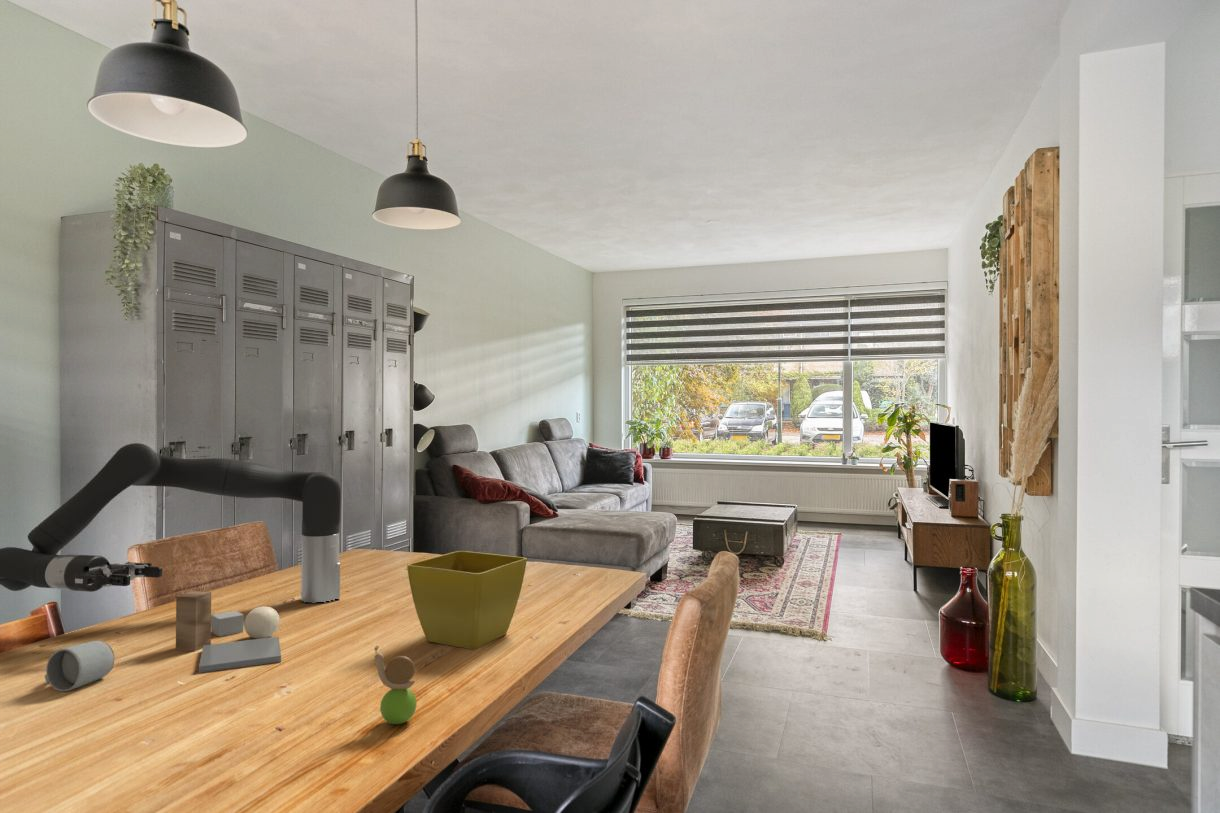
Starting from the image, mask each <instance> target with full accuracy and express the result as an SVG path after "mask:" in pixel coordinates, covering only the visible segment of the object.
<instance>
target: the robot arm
mask: <svg viewBox="0 0 1220 813" xmlns="http://www.w3.org/2000/svg"><path fill="white" fill-rule="evenodd" d="M131 486H134V487H135V486H136V487H137V486H140V487H166V488H167V487H168V488H169V487H170V488H178V489H185V490H189V491H194V492H199V493H204V494H211V495H216V496H225V497H231V498H240V499H241V498H243V499H268V498H270V499H271V498H274V499H275V498H278V499H287V500H291V501H296V502H302V509H301V510H302V513H301V514H302V517H301V518H302V519H301V568H300V569H301V574H300V577H301V578H300V580H301V585H300V586H301V587H300V589H301V590H300V600H302V601H304V602H303V603H305V602H312V603H311V604H317V603H316V602H324V603H327V602H326V601H329V602H332V601H331V600H333V601H336V600H335V599H339V600H340V599H341V562H340V524H341V506H342V504H341V502H342V499H341V498H342V497H341V496H342V495H341V494H342V493H341V491H342V490H341V486H340V483H339V481H338V479H336V478H335V477H334V476H333V475H332V474H330V473H327V472H324V471H321V472H320V471H318V472H316V471H313V472H312V471H295V470H294V471H293V470H284V469H281V468H276V467H272V466H269V465H266V464H265V465H264V464H260V463H256V462H249V461H243V460H238V459H237V460H236V459H231V458H230V459H229V458H222V457H221V458H219V457H218V458H217V457H216V458H215V457H210V458H208V457H207V458H206V457H205V458H204V457H203V458H182V457H181V458H180V457H174V456H171V455H170V456H169V455H164V454H160V453H158V452H157V453H156V452H155V450H153V448H152V447H150V446H149V445H148V444H144V443H138V442H137V443H129V444H125V445H123V446H122V447H120V448H119V449H118V450H117V451H116V452H115V453H114V454H113V455H112V457H111V458H110V459H109V460H108V461H107V462H106V463H105V465H103V467H102V468H101V469H100V470H99V471H98V473H96V475H94V477H93V478H91V479H90V480H89V481H88V482H87V483H86V484H85V485H84V486H83V487H82V488H81V489H80V490H79V491H77V492H76V493H75V494H74V495H73V496H72V497H70V498H69V499H68V500H67V501H66V502H65V503H63V504H62V505H61V506H60V507H59V508H57V509H55V511H53V512H52V513H51V514H50V515H49V516H47V517H46V518H45V519H44V520H43V521H41V522H40V523H39V524H37V526H35V527H34V528H33V529H32V530H31V531H30V532H29V533H28V534H27V540H28V541H29V543H30V545H32V550H29V549H25V548H21V547H15V546H14V547H12V546H8V547H1V548H0V585H1V587H4V588H5V589H7V590H10V591H13V592H18V591H23V590H26V589H27V588H29V587H31V586H32V587H36V588H44V589H56V590H57V589H58V590H61V591H72V592H97V591H99V590H101V589H102V588H103V587H107V588H110V587H112V586H115V587H127V586H130V584H131V581H134V579H136V578H156V579H157V578H160V577H162V576H163V567H162V566H153V563H151V562H130V561H126V562H125V563H119V562H115V563H114V562H113V563H110V561H109V560H108V559H107V558H106V557H104V556H102V555H91V554H75V553H74V554H58V553H59V552H60V551H61V550H62V549H64V548H65V546H66V545H68V544H69V543H70V542H72V540H74V539H75V538H76V537H77V536H79V534H81V533H82V532H83V530H85V528H87V527H88V526H89V525H90V523H92V522H93V521H94V519H95V518H96V517H97V516H98V514H100V512H101V511H102V510H103V509H104V508H105V507H106V506H107V505H108V504H109V503H110V502H111V501H112V500H113V499H115V498H116V497H117V496H119V494H120V493H122V492H124V491H125V490H126V489H128V488H129V487H131ZM302 601H301V602H302Z"/></svg>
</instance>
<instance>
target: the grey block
mask: <svg viewBox="0 0 1220 813" xmlns="http://www.w3.org/2000/svg"><path fill="white" fill-rule="evenodd" d="M212 632H213V633H215V634H216V635H215V634H214V635H215V636H217V637H218V636H221V637H225V636H224V635H226V636H230V634H232V635H235V633H237V634H240V633H239V632H242V633H244V614H243V613H241V612H240V611H237V610H232V611H226V612H220V613H215V614H211V633H212ZM213 633H212V634H213Z"/></svg>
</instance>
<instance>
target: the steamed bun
mask: <svg viewBox="0 0 1220 813" xmlns="http://www.w3.org/2000/svg"><path fill="white" fill-rule="evenodd" d="M280 619H281V618H280V615H279V613H278V611H277V610H276V609H274V608H273V607H271V606H258V607H256V608H254V609H251V611H249V612H248V614H247V615H246V617H245V619H244V620H243V629H244V631H245V633H246V634H247V635H248V636H249V637H250V638H253V639H261V638H269V637H273V635H274V634H275V633H276V632H277V630H278V628H279V627H280Z"/></svg>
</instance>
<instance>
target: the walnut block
mask: <svg viewBox="0 0 1220 813" xmlns="http://www.w3.org/2000/svg"><path fill="white" fill-rule="evenodd" d="M175 604H176V605H175V607H176V608H175V616H176V617H175V651H180V652H181V651H182V652H183V651H185V652H197V651H199V650H203V645H211V644H212V632H211V624H212V591H193V590H192V591H188V592H186V593H183V594H180V595H176V597H175Z"/></svg>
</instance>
